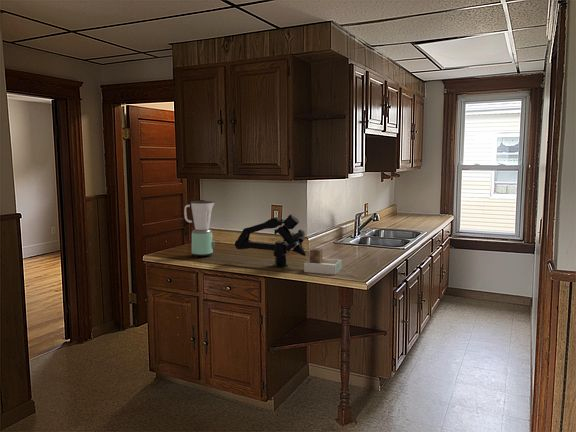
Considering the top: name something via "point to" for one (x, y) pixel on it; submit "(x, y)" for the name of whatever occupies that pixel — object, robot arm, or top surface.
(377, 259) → the top surface
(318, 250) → the walnut block
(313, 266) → the box
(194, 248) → the mint green blender
